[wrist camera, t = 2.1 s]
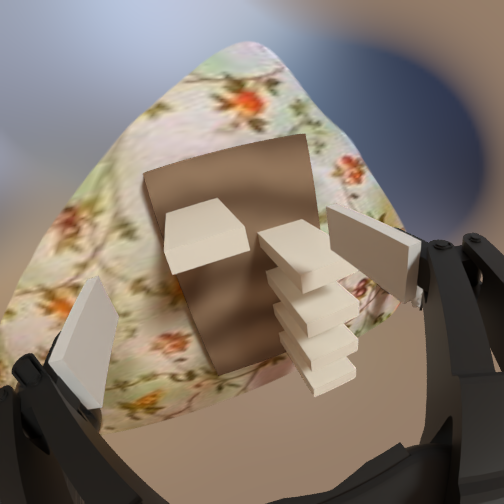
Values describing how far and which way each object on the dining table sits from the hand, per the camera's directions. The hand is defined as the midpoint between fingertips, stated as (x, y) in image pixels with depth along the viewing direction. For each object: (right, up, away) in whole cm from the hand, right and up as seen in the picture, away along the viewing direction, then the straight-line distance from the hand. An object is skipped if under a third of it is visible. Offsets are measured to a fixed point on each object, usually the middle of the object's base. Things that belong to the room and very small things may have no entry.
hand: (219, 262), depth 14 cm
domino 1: (-4, +4, +11) cm, 12 cm away
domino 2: (+5, +3, +14) cm, 15 cm away
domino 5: (+7, -9, +20) cm, 23 cm away
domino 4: (+7, -5, +18) cm, 20 cm away
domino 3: (+6, -1, +16) cm, 17 cm away
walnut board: (+2, -1, +16) cm, 16 cm away
